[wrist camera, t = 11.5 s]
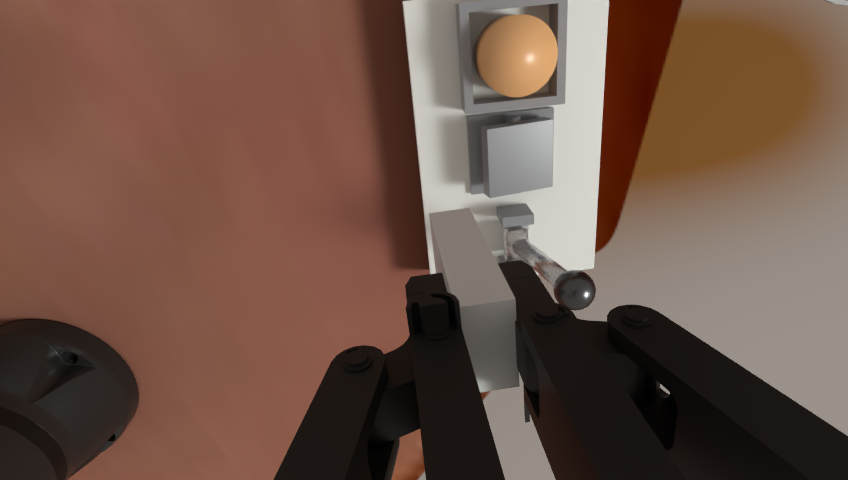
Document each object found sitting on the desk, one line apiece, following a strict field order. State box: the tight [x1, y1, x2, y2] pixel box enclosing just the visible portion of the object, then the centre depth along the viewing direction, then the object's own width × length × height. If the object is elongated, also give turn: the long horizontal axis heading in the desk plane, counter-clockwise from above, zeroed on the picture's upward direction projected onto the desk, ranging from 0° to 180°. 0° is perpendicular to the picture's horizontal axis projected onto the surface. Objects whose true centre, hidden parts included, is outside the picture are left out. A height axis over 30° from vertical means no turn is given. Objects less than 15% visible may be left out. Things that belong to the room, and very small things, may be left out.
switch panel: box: [402, 0, 609, 275], centre depth 38 cm, size 14×22×5 cm, turn 5°
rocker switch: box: [481, 116, 553, 198], centre depth 36 cm, size 5×6×2 cm
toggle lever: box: [503, 225, 596, 310], centre depth 35 cm, size 3×3×10 cm
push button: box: [474, 14, 558, 97], centre depth 33 cm, size 5×5×3 cm
